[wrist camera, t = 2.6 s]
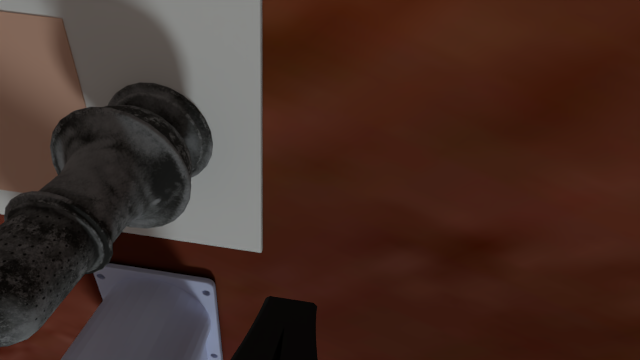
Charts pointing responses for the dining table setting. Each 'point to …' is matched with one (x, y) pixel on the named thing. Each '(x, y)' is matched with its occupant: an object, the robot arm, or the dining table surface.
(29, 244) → the dark grey chess piece
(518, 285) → the dining table surface
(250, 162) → the mat
